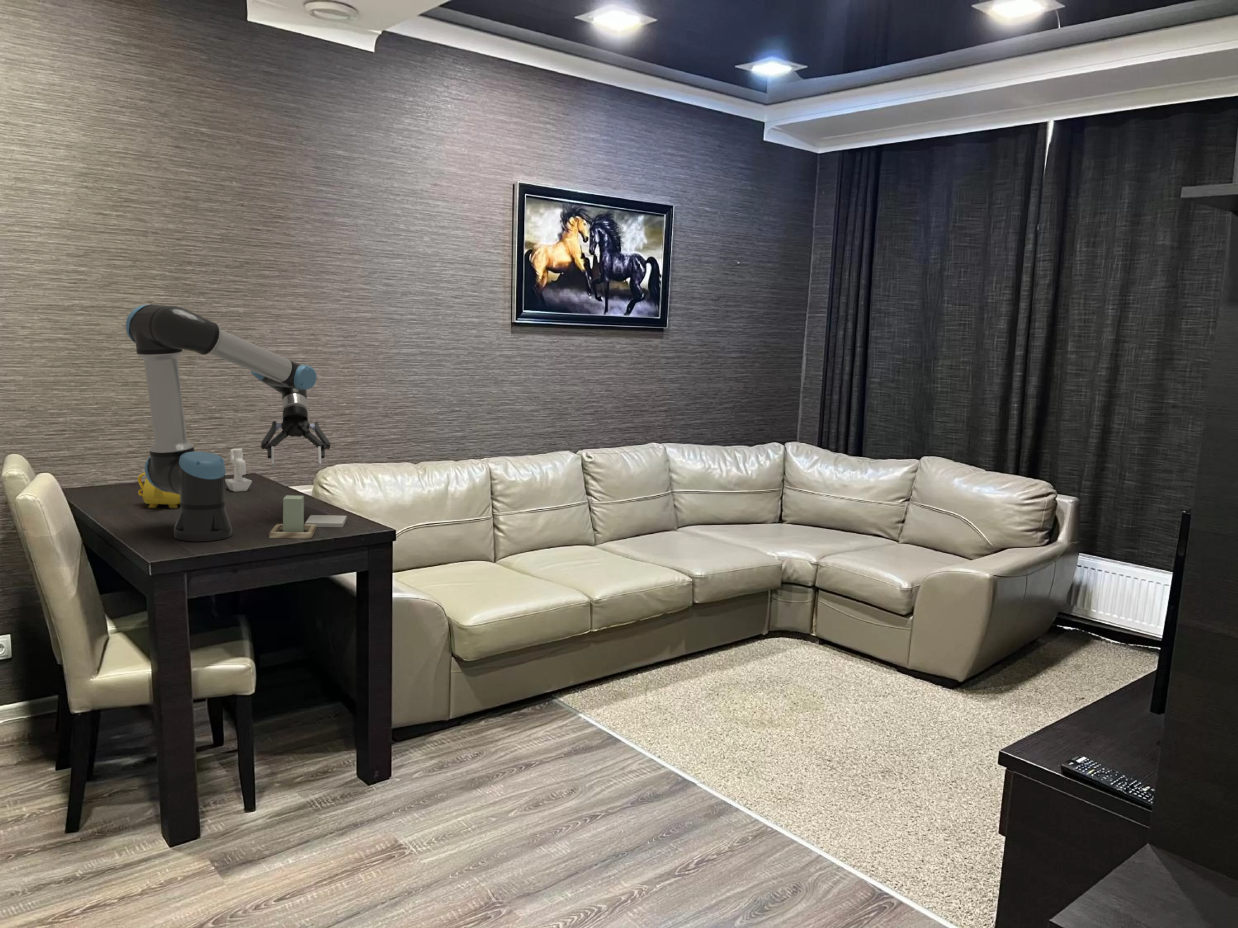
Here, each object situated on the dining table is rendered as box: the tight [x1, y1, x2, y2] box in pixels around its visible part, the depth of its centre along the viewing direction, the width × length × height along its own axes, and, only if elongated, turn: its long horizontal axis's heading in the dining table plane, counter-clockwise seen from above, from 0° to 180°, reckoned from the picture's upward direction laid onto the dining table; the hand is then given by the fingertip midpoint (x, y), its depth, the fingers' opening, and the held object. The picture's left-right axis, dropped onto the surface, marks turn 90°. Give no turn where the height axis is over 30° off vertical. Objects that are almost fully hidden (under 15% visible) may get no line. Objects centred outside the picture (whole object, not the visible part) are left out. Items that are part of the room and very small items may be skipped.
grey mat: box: [304, 514, 348, 528], centre depth 284 cm, size 11×11×1 cm
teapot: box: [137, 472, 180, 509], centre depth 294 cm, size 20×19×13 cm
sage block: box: [282, 494, 305, 532], centre depth 268 cm, size 5×5×11 cm
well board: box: [268, 523, 317, 539], centre depth 268 cm, size 11×11×2 cm
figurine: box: [225, 447, 253, 493], centre depth 324 cm, size 7×9×15 cm
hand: (296, 466), depth 278 cm, fingers open, 13 cm apart
